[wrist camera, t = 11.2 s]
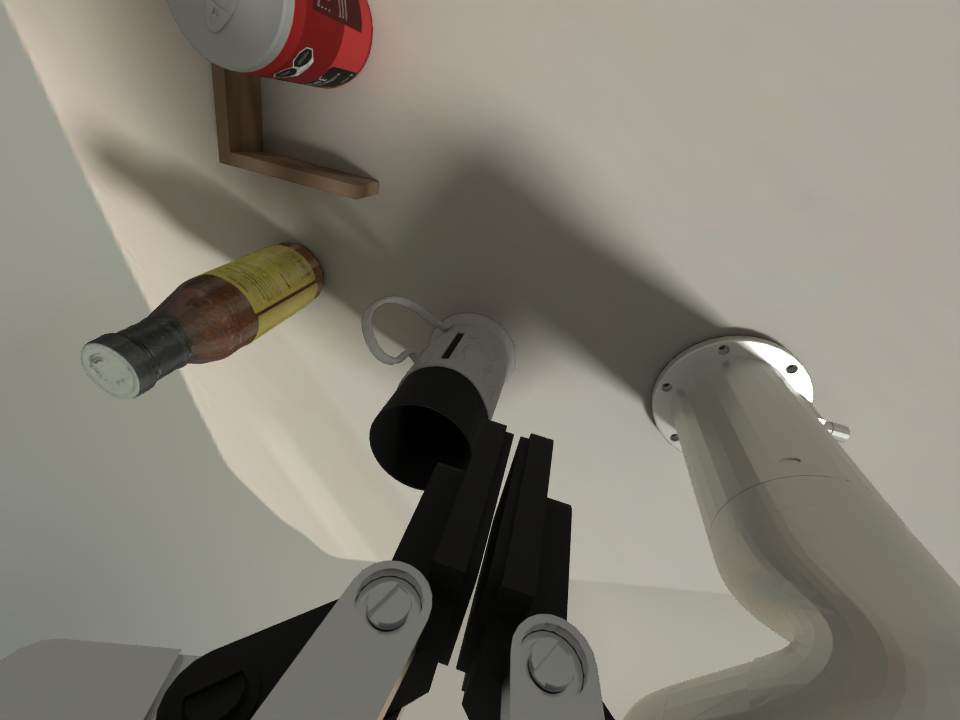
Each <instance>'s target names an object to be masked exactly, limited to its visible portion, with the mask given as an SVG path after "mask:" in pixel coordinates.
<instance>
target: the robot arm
mask: <svg viewBox="0 0 960 720" xmlns="http://www.w3.org/2000/svg"><path fill="white" fill-rule="evenodd" d="M723 345H724V347H722V348H719V347H720V346H723ZM665 383H668V384H666V385H665ZM813 401H814V389H813V385H812V381H811V378H810V375H809V374H808V372H807V370H806V369H805V367H804V366H803V364H802V363H801V362H800V361H799V360H798V359H797V358H796V357H795V356H794V355H793V354H792V353H790V352H789V351H788V350H786V349H785V348H784V347H782V346H780V345H778V344H776V343H774V342H772V341H769V340H765V339H761V338H758V337H750V336H741V335H740V336H724V337H719V338H715V339H710V340H707V341H704V342H701V343H699V344H696V345H694V346H692V347H690V348H688V349H687V350H685V351H683V352H681V353H680V354H679V355H678V356H676V357H675V358H674V359H673V360H672V361H670V362H669V364H668V365H667V366H666V367H665V368H664V369H663V371H662V372H661V374H660V375H659V377H658V379H657V381H656V383H655V386H654V389H653V392H652V403H651V405H652V411H653V416H654V419H655V423H656V426H657V427H658V429H659V431H660V433H661V434H662V436H663V437H664V438H665V439H666V440H667V441H668V442H669V443H670V444H671V445H673V446H674V447H675V448H677V449H678V450H679V451H681V452H683V455H684V459H685V462H686V465H687V469H688V472H689V476H690V479H691V482H692V486H693V489H694V493H695V496H696V499H697V503H698V506H699V509H700V513H701V516H702V520H703V523H704V526H705V530H706V533H707V537H708V540H709V543H710V547H711V550H712V553H713V556H714V559H715V563H716V566H717V568H718V571H719V573H720V575H721V577H722V579H723V581H724V583H725V585H726V586H727V588H728V589H729V591H730V592H731V593H732V595H733V596H734V597H735V598H736V600H737V601H738V602H739V603H740V604H741V605H742V606H743V607H744V608H745V609H746V610H747V611H748V612H749V613H751V614H752V615H753V616H754V617H755V618H756V619H757V620H759V621H760V622H761V623H763V624H764V625H765V626H767V627H768V628H770V629H771V630H772V631H774V632H775V633H777V634H778V635H780V636H781V637H783V638H784V639H786V640H788V641H789V642H791V643H790V644H789V645H788V646H786V647H785V648H783V649H781V650H779V651H776V652H773V653H771V654H768V655H765V656H762V657H759V658H756V659H754V660H753V661H752V662H748V663H745V664H742V665H738V666H735V667H732V668H728V669H724V670H721V671H718V672H714V673H711V674H708V675H704V676H701V677H697V678H694V679H691V680H687V681H684V682H681V683H678V684H675V685H671V686H668V687H666V688H663V689H661V690H658V691H655V692H653V693H650V694H649V695H647V696H645V697H644V698H642V699H641V700H639V701H638V702H637V703H635V704H634V705H633V707H632V708H631V709H630V710H629V711H628V713H627V714H626V716H625V717H624V719H623V720H960V586H959V585H958V584H957V583H956V582H955V581H954V580H953V579H952V577H951V576H950V575H949V574H948V573H947V572H946V571H945V570H944V568H943V567H942V566H941V565H940V564H939V563H938V562H937V561H936V559H935V558H934V557H933V556H932V555H931V554H930V553H929V551H928V550H927V549H926V548H925V547H924V546H923V545H922V543H921V542H920V541H919V540H918V539H917V538H916V537H915V535H914V534H913V533H912V532H911V531H910V529H909V528H908V527H907V526H906V524H905V523H904V522H903V521H902V520H901V518H900V517H899V516H898V515H897V513H896V512H895V511H894V510H893V509H892V507H891V506H890V505H889V504H888V503H887V502H886V501H885V500H884V498H883V497H882V496H881V495H880V494H879V492H878V491H877V490H876V489H875V487H874V486H873V485H872V484H871V482H870V481H869V480H868V479H867V478H866V476H865V475H864V474H863V473H862V471H861V470H860V469H859V468H858V466H857V465H856V464H855V463H854V462H853V460H852V459H851V458H850V457H849V455H848V454H847V453H846V452H845V451H844V449H843V448H842V447H841V446H840V444H839V443H838V442H845V441H846V440H847V439H848V437H849V435H850V430H849V428H848V427H846V426H844V425H840V424H837V423H833V422H827V421H825V420H824V419H823V418H822V417H821V415H820V414H819V413H818V412H817V410H816V409H815V408H814V407H813V406H812V405H813ZM506 428H507V426H506V425H503V424H500V423H497V422H494V421H490V420H487V419H486V420H485V422H484V425H483V427H482V430H481V433H480V436H479V438H478V441H477V444H476V446H475V449H474V452H473V454H472V457H471V460H470V463H469V465H468V468H467V471H464V470H461V469H458V468H455V467H452V466H449V465H446V464H443V463H440V462H439V463H438V464H437V465H436V467H435V469H434V471H433V474H432V476H431V478H430V480H429V482H428V484H427V486H426V489H425V491H424V493H423V495H422V497H421V499H420V501H419V504H418V506H417V508H416V510H415V512H414V514H413V516H412V518H411V521H410V523H409V525H408V527H407V529H406V531H405V533H404V536H403V538H402V540H401V542H400V544H399V546H398V548H397V551H396V553H395V555H394V557H393V559H392V561H383V562H379V563H374V564H373V565H371V566H369V567H367V568H365V569H364V570H362V571H361V572H360V573H359V574H358V575H357V576H356V577H355V578H354V579H353V581H352V582H351V584H350V585H349V586H348V588H347V589H346V590H345V592H344V593H343V594H342V596H341V597H340V598H339V599H337V600H335V601H332V602H330V603H327V604H325V605H323V606H320V607H318V608H315V609H313V610H310V611H308V612H306V613H303V614H301V615H298V616H296V617H293V618H291V619H288V620H286V621H284V622H281V623H279V624H277V625H274V626H271V627H269V628H267V629H264V630H262V631H259V632H257V633H255V634H252V635H250V636H247V637H245V638H243V639H240V640H237V641H235V642H233V643H230V644H228V645H225V646H223V647H220V648H218V649H216V650H213V651H211V652H209V653H208V654H205V655H204V656H191V655H183V654H182V650H181V649H172V648H161V647H149V646H137V645H125V644H114V643H103V642H90V641H80V640H68V639H54V640H43V641H39V642H36V643H33V644H31V645H28V646H25V647H22V648H20V649H18V650H16V651H15V652H13V653H11V654H10V655H9V656H7V657H5V658H3V659H2V660H0V720H400V717H401V715H402V713H403V711H404V708H405V706H406V705H407V704H409V703H411V702H412V701H414V700H415V699H417V698H419V697H421V696H423V695H424V694H426V693H428V692H429V690H430V687H431V683H432V680H433V677H434V674H435V670H436V667H437V664H438V662H439V663H441V664H444V665H448V663H449V661H450V658H451V655H452V651H453V649H454V646H455V643H456V640H457V637H458V634H459V631H460V628H461V625H462V622H463V619H464V616H465V613H466V610H467V607H468V604H469V601H470V598H471V595H472V592H473V589H474V586H475V583H476V579H477V576H478V573H479V569H480V566H481V562H482V558H483V554H484V550H485V547H486V543H487V539H488V535H489V531H490V527H491V523H492V519H493V515H494V511H495V507H496V503H497V499H498V496H499V492H500V488H501V484H502V480H503V476H504V472H505V468H506V464H507V460H508V456H509V452H510V448H511V445H512V441H513V437H514V434H512V433H508V432H506ZM837 441H838V442H837ZM552 451H553V440H551V439H548V438H545V437H542V436H538V435H535V434H532V433H531V435H530V437H529V439H528V438H524V437H520V440H519V443H518V446H517V449H516V452H515V455H514V458H513V461H512V464H511V468H510V471H509V474H508V477H507V480H506V483H505V486H504V489H503V492H502V495H501V498H500V501H499V504H498V507H497V510H496V513H495V516H494V520H493V523H492V527H491V531H490V535H489V539H488V543H487V547H486V551H485V555H484V559H483V563H482V567H481V571H480V575H479V579H478V583H477V587H476V591H475V594H474V598H473V603H472V607H471V611H470V614H469V619H468V622H467V626H466V630H465V634H464V638H463V643H462V646H461V650H460V654H459V658H458V662H457V666H456V669H457V670H460V671H463V672H465V677H464V682H463V686H462V691H464V697H463V701H462V706H463V708H464V710H465V712H466V714H467V716H468V719H469V720H615V719H614V718H613V716H612V715H611V713H610V712H609V710H608V709H607V707H606V706H605V704H604V703H603V701H602V697H601V690H600V683H599V676H598V669H597V665H596V661H595V657H594V654H593V651H592V649H591V648H590V646H589V644H588V642H587V640H586V639H585V637H584V636H583V635H582V634H581V633H580V632H579V631H578V630H577V628H575V627H574V626H573V625H572V624H570V623H569V622H567V603H568V583H569V562H570V541H571V520H572V508H571V505H568V504H565V503H562V502H559V501H556V500H553V499H550V498H547V493H548V485H549V476H550V468H551V460H552Z"/></svg>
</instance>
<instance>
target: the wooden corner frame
mask: <svg viewBox="0 0 960 720" xmlns="http://www.w3.org/2000/svg"><path fill="white" fill-rule="evenodd" d="M212 74H213V87H214V99H215V111H216V124H217V136H218V148H219V160H220V163H224V164H228V165H231V166H235V167H239V168H242V169H246V170H250V171H253V172H257V173H261V174H265V175H268V176H272V177H276V178H279V179H283V180H287V181H290V182H294V183H298V184H302V185H305V186H309V187H313V188H316V189H320V190H324V191H328V192H331V193H335V194H339V195H342V196H346V197H350V198H353V199H359V198H363V197H367V196H371V195H374V194H378V186H379V181H375V180H371V179H368V178H364V177H360V176H356V175H352V174H349V173H345V172H341V171H337V170H334V169H330V168H326V167H322V166H318V165H315V164H311V163H307V162H303V161H300V160H296V159H292V158H288V157H284V156H281V155H277V154H273V153H269V152H265V151H263V150H262V123H261V95H260V76H255V75H249V74H244V73H241V72H236V71H231V70H228V69H226V68H223V67H221V66H218V65H216V64H214V63H212Z"/></svg>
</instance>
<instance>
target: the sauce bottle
mask: <svg viewBox="0 0 960 720" xmlns="http://www.w3.org/2000/svg"><path fill="white" fill-rule="evenodd" d="M322 284H323V272H322V269H321V267H320V265H319V263H318V261H317V260H316V258H315V257H314V255H313V254H311V253H310V251H308V250H307V249H305V248H304V247H302V246H299V245H297V244H293V243H281V244H279V245H272V246H269V247H266V248H264V249H261V250H259V251H256V252H254V253H252V254H249V255H247V256H244V257H242V258H240V259H237V260H235V261H232V262H230V263H227V264H225V265H223V266H220V267H218V268H215V269H213V270H210V271H208V272H206V273H203V274H201V275H198V276H196V277H194V278H191V279H189V280H187V281H185V282H184V283H182V284H181V285H180V286H178V288H177V289H176V290H175V291H174V292H173V293H172V294H171V295H170V296H169V297H167V298H166V299H165V300H164V301H163V302H162V303H161V304H160V305H159V306H158V307H157V308H156V309H155V310H154V311H153V312H152V313H151V314H150V315H149V316H148V317H147V318H145V319H143V320H142V321H140V322H139V323H137V324H135V325H132V326H130V327H128V328H127V329H124V330H121V331H119V332H117V333H109V334H104V335H102V336H100V337H98V338H97V339H95V340H92V341H90V342H88V343H87V344H86V345H85V346H84V347H83V349H82V352H81V362H82V367H83V369H84V371H85V372H86V374H87V375H88V376H89V378H90V379H91V380H92V381H93V382H94V383H95V384H96V385H97V386H99V387H100V388H101V389H103V390H104V391H105V392H107V393H108V394H110V395H112V396H114V397H117V398H119V399H132V398H135V397H137V396H139V395H141V394H143V393H144V392H146V391H148V390H150V389H151V388H152V387H153V386H154V385H155V383H156V382H157V381H158V380H159V379H161V378H163V377H164V376H166V375H168V374H169V373H171V372H173V371H174V370H176V369H179V368H182V367H184V366H185V365H186V364H187V363H189V364H191V363H192V364H203V363H208V362H212V361H217V360H221V359H224V358H226V357H228V356H229V355H231V354H233V353H234V352H236V351H237V350H238V349H240V348H241V347H243V346H246V345H248V344H250V343H251V342H253V341H254V340H256V339H257V338H259V337H260V336H262V335H263V334H265V333H266V332H268V331H269V330H271V329H272V328H274V327H275V326H277V325H278V324H280V323H282V322H283V321H284V320H286V319H287V318H289V317H290V316H292V315H293V314H295V313H296V312H298V311H299V310H301V309H302V308H304V307H305V306H307V305H308V304H309V303H311V302H312V300H313V299H315V298H316V297H317V296H318V295H319V293H320V291H321V289H322Z"/></svg>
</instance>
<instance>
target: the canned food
mask: <svg viewBox="0 0 960 720" xmlns="http://www.w3.org/2000/svg"><path fill="white" fill-rule="evenodd" d="M167 1H168V3H169V6H170V8H171V11H172V14H173V16H174V18H175V20H176V22H177V24H178V26H179V28H180V29H181V31H182V33H183V34H184V36H185V37H186V38H187V40H188V41H189V42H190V44H191V45H192V46H193V47H194V48H195V49H196V50H197V51H198V52H199V53H200V54H201V55H202V56H203V57H205V58H206V59H208V60H209V61H210V62H212V63H214V64H216V65H218V66H221V67H223V68H226V69H228V70H231V71H236V72H241V73H244V74H249V75H255V76H260V77H266V78H271V79H277V80H282V81H287V82H293V83H298V84H304V85H309V86H315V87H320V88H325V89H327V88H336V87H339V86H342V85H344V84H346V83H347V82H349V81H350V80H352V79H353V78H355V77H356V76H357V75H358V73H359V72H360V71H361V70H362V68H363V67H364V65H365V63H366V61H367V59H368V56H369V54H370V49H371V45H372V36H373V26H372V17H371V12H370V8H369V5H368V2H367V0H167Z"/></svg>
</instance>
